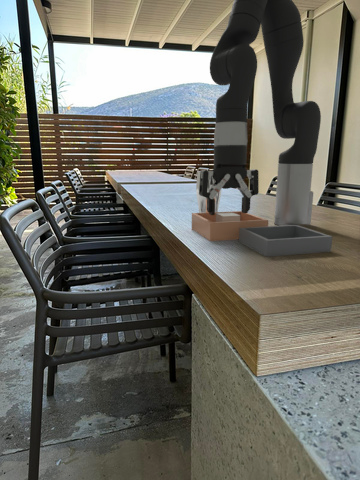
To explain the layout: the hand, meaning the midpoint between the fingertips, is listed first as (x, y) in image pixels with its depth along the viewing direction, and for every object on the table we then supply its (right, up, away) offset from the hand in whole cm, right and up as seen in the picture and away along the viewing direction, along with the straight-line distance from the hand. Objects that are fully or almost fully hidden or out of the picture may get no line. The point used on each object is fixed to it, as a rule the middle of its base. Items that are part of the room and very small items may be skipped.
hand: (228, 213), depth 81 cm
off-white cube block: (0, -5, +1) cm, 5 cm away
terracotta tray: (0, -5, +1) cm, 6 cm away
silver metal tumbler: (-4, -3, +14) cm, 15 cm away
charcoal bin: (+9, -9, -11) cm, 17 cm away
